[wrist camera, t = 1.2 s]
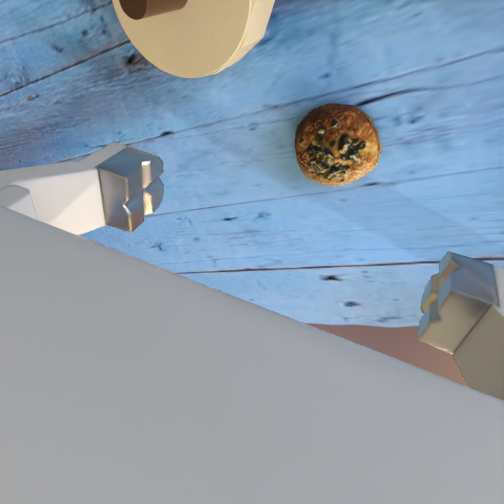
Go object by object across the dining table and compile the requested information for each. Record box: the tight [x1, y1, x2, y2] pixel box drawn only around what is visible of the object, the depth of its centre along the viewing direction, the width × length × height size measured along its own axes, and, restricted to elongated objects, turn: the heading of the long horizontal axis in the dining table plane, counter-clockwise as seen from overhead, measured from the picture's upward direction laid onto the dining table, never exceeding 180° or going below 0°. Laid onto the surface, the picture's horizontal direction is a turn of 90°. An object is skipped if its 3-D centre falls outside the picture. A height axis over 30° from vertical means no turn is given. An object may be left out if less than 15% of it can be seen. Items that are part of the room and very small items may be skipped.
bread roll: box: [295, 104, 382, 186], centre depth 50 cm, size 11×11×5 cm
